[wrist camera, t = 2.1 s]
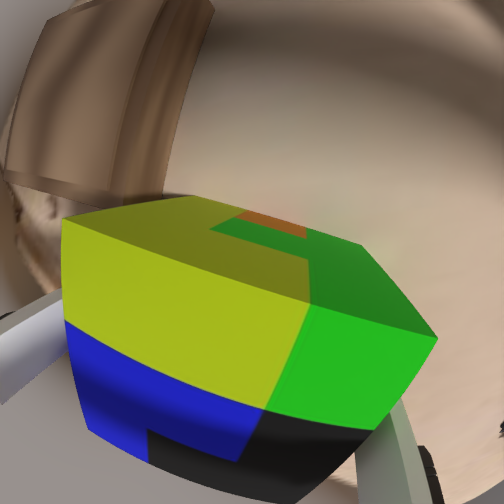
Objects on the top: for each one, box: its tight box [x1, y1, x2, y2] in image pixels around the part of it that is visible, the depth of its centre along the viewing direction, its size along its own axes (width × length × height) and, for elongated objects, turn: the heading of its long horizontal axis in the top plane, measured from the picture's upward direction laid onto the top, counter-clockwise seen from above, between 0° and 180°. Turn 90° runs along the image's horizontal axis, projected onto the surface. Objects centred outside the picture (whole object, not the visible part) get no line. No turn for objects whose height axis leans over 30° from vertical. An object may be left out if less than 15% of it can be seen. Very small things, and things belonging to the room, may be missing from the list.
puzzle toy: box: [61, 196, 438, 504], centre depth 12 cm, size 10×10×10 cm
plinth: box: [3, 0, 215, 209], centre depth 13 cm, size 14×14×4 cm
